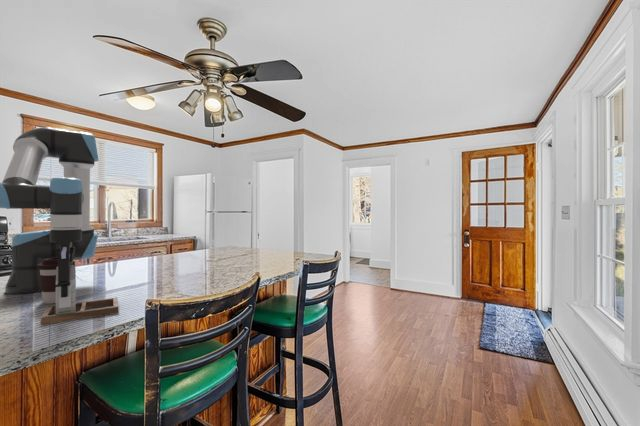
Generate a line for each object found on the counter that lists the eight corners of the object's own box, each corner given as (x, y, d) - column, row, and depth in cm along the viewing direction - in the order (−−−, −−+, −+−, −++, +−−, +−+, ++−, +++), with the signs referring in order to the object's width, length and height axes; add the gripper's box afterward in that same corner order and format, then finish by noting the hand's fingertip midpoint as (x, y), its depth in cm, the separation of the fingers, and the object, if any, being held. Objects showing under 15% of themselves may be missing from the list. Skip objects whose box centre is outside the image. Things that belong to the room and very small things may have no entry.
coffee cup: (52, 306, 100) (52, 261, 99) (29, 304, 102) (29, 260, 101) (81, 298, 109) (82, 256, 109) (60, 296, 111) (60, 255, 111)
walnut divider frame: (47, 312, 94) (48, 306, 94) (117, 303, 104) (117, 297, 104) (40, 324, 84) (40, 317, 84) (118, 313, 94) (118, 306, 94)
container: (59, 313, 93) (60, 265, 93) (78, 312, 95) (78, 264, 94) (52, 318, 89) (52, 268, 88) (71, 317, 90) (72, 267, 90)
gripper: (54, 227, 96) (53, 299, 97) (44, 231, 82) (44, 315, 82) (83, 226, 101) (83, 296, 101) (79, 230, 86) (79, 311, 86)
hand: (65, 304), depth 92 cm, fingers closed on container, 5 cm apart
